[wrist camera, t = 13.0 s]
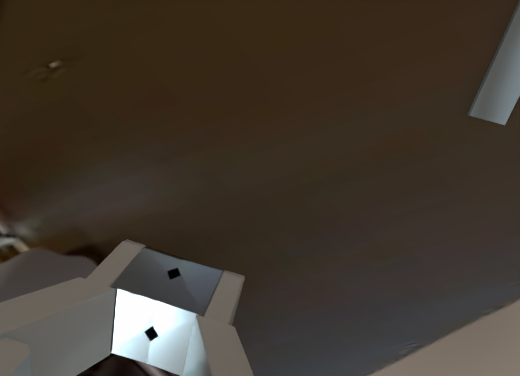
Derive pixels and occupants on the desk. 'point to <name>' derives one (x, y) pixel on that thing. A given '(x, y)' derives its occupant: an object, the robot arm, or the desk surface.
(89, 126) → the desk surface
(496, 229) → the desk surface
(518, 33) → the gate frame
